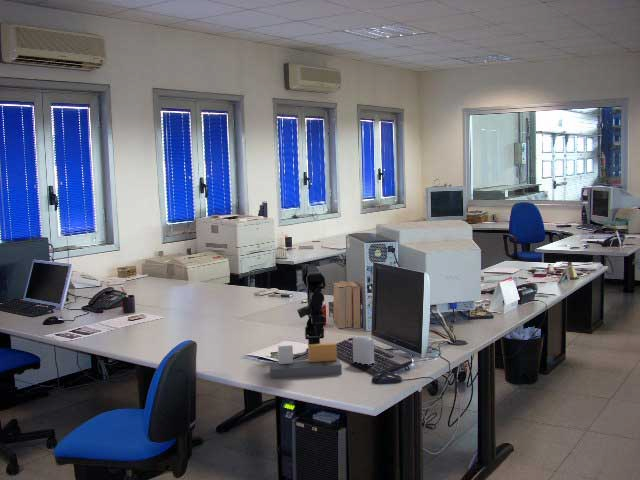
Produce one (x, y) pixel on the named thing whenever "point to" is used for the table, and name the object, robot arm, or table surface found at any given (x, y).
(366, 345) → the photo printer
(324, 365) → the switch box
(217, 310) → the table surface
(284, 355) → the white slider
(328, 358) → the orange slider
